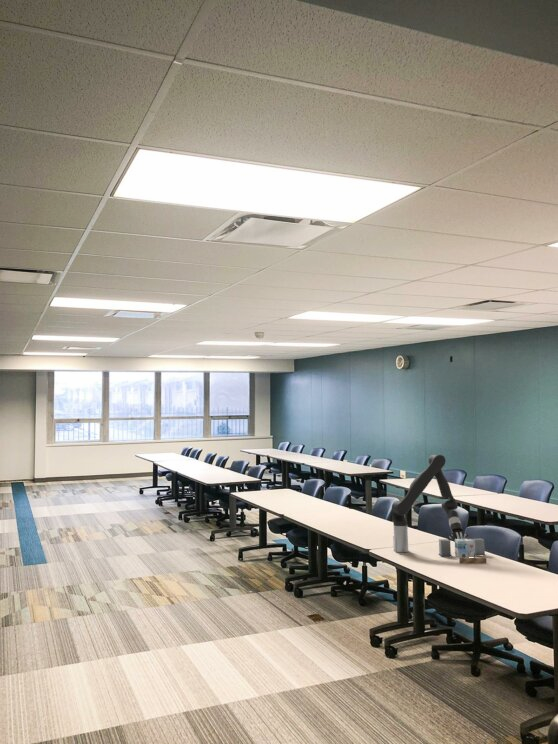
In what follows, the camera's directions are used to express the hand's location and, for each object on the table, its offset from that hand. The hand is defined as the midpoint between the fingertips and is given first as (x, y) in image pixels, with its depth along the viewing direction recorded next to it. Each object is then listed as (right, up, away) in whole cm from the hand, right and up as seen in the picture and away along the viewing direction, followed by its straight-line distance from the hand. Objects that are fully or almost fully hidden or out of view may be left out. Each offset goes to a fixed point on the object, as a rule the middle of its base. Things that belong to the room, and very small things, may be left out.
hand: (462, 547), depth 392 cm
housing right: (+11, -5, 0) cm, 12 cm away
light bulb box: (0, -5, -4) cm, 6 cm away
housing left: (-11, -5, 0) cm, 12 cm away
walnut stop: (0, -3, -22) cm, 22 cm away
